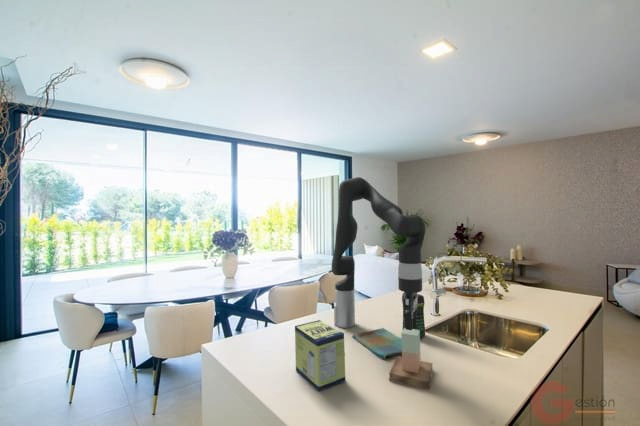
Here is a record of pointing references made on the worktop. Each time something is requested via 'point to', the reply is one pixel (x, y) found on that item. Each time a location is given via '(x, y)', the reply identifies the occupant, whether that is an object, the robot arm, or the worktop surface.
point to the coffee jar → (418, 315)
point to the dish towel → (381, 343)
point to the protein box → (320, 354)
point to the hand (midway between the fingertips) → (410, 324)
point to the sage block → (411, 341)
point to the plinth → (411, 374)
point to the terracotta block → (411, 362)
